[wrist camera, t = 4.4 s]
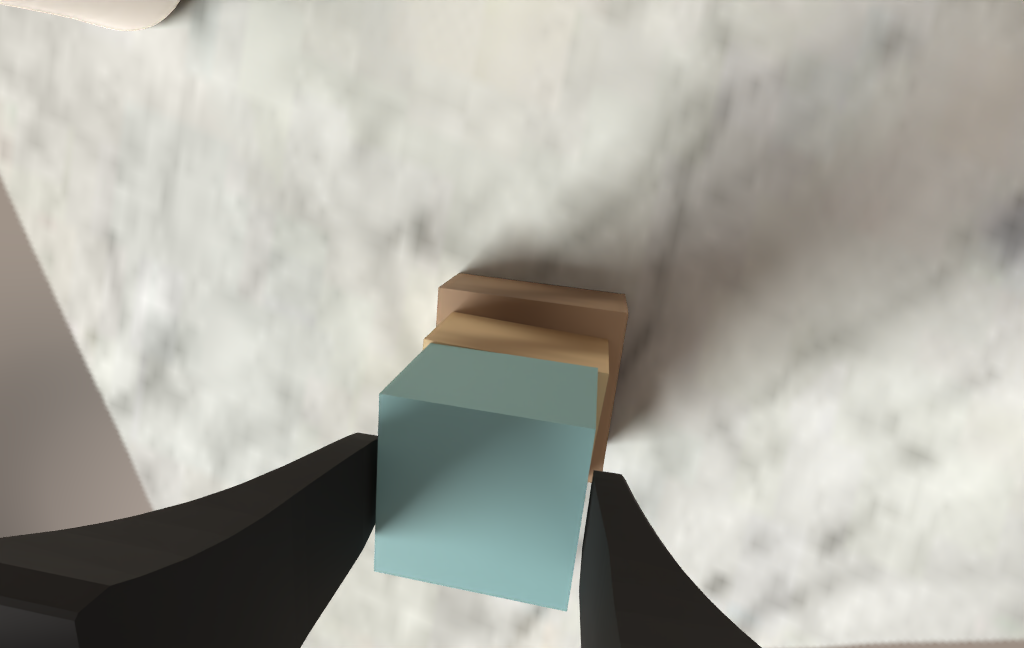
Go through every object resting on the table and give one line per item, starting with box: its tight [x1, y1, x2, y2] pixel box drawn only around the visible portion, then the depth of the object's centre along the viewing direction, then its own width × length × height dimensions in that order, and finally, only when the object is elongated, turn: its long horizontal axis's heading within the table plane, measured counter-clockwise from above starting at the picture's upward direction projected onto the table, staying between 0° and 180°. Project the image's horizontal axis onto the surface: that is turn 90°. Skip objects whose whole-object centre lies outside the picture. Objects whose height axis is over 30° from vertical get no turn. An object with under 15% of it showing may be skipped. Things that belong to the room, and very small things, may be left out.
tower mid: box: [423, 312, 609, 470], centre depth 16 cm, size 5×5×3 cm
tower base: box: [436, 273, 628, 483], centre depth 19 cm, size 6×6×3 cm
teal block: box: [374, 343, 598, 611], centre depth 13 cm, size 4×4×4 cm
